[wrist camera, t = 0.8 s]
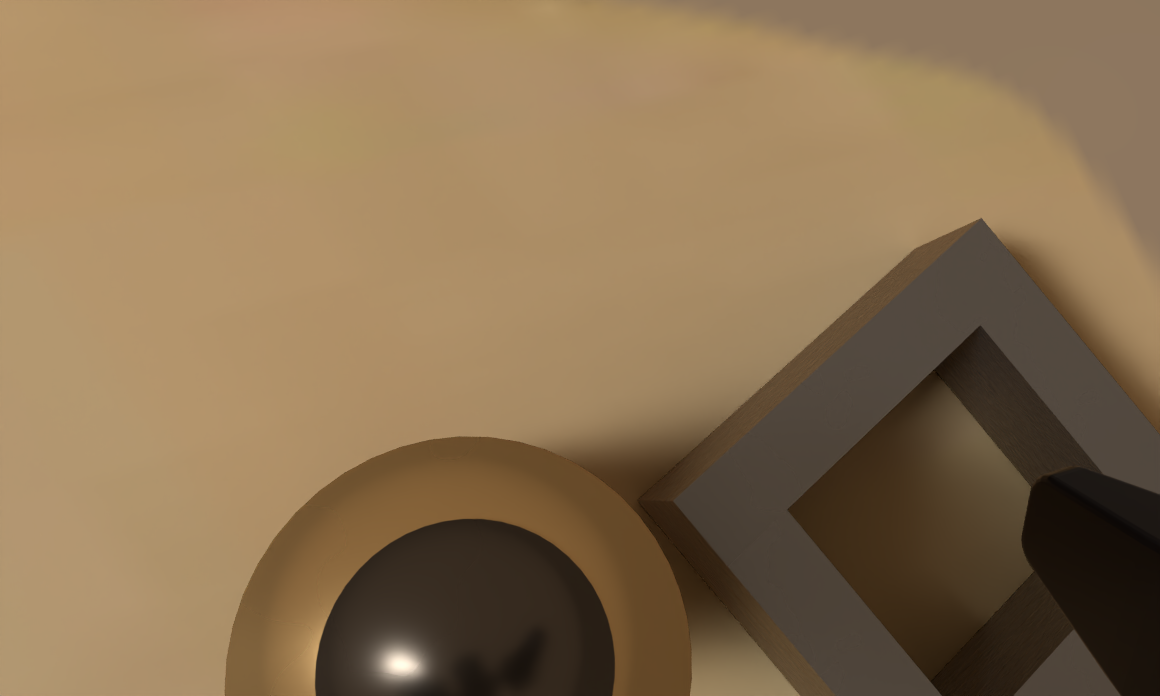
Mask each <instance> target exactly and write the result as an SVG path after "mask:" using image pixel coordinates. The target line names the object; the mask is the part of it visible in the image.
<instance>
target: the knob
mask: <svg viewBox="0 0 1160 696" xmlns="http://www.w3.org/2000/svg"><path fill="white" fill-rule="evenodd" d="M691 680H692V671H691V643H690V635H689V627H688V620H687V616H686V612H685V608H684V604H683V600H682V596H681V592H680V589H679V587H678V584H677V582H676V579H675V577H674V574H673V572H672V569H671V567H670V564H669V562H668V560H667V559H666V557H665V555H664V553H663V551H662V549H661V548H660V546H659V544H658V542H657V540H656V539H655V537H654V536H653V534H652V533H651V532H650V530H649V529H648V528H647V526H646V525H645V523H644V522H643V521H642V519H641V518H640V517H639V515H638V514H637V513H636V512H635V511H634V510H633V509H632V508H631V507H630V506H629V505H628V504H627V503H626V502H625V500H624V499H623V498H622V497H621V496H620V495H619V494H618V493H616V492H615V491H614V490H613V489H611V488H610V487H609V486H608V485H607V484H605V483H604V482H603V481H602V480H600V479H599V478H598V477H597V476H595V475H593V474H592V473H590V472H589V471H587V470H585V469H584V468H582V467H580V466H579V465H577V464H575V463H574V462H572V461H570V460H568V459H565V458H563V457H561V456H559V455H556V454H554V453H552V452H550V451H547V450H545V449H541V448H538V447H535V446H531V445H528V444H524V443H521V442H517V441H511V440H504V439H498V438H491V437H451V438H442V439H433V440H427V441H423V442H419V443H415V444H411V445H407V446H403V447H399V448H397V449H394V450H392V451H389V452H386V453H384V454H381V455H379V456H376V457H374V458H371V459H369V460H367V461H366V462H364V463H362V464H360V465H358V466H356V467H355V468H353V469H351V470H349V471H347V472H345V473H344V474H342V475H341V476H340V477H338V478H337V479H335V480H334V481H333V482H331V483H330V484H328V485H327V486H326V487H324V488H323V489H321V490H320V491H319V492H318V493H317V494H315V495H314V496H313V497H312V498H311V499H310V500H309V501H308V502H307V503H306V504H305V505H304V506H303V507H301V508H300V509H299V510H298V511H297V512H296V513H295V514H294V515H293V517H292V518H291V519H290V520H289V521H288V523H287V524H286V525H285V526H284V527H283V529H282V530H281V531H280V532H279V533H278V535H277V536H276V537H275V538H274V540H273V541H272V543H271V545H270V546H269V548H268V549H267V551H266V552H265V554H264V555H263V557H262V559H261V560H260V562H259V563H258V565H257V567H256V569H255V571H254V573H253V575H252V577H251V579H250V581H249V583H248V586H247V588H246V590H245V592H244V594H243V597H242V600H241V603H240V606H239V609H238V612H237V615H236V618H235V621H234V624H233V628H232V633H231V638H230V644H229V649H228V654H227V661H226V678H225V696H690V688H691Z"/></svg>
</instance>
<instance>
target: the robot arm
mask: <svg viewBox="0 0 1160 696" xmlns="http://www.w3.org/2000/svg"><path fill="white" fill-rule="evenodd" d="M1021 540H1022V548H1023V551H1024V554H1025V557H1026V559H1027V561H1028V563H1029V564H1030V566H1031V568H1032V569H1033V570H1034V572H1035V573H1036V575H1037V576H1038V578H1039V579H1040V581H1041V582H1042V584H1043V585H1044V586H1045V588H1046V589H1047V591H1048V592H1049V594H1050V595H1051V597H1052V598H1053V600H1054V601H1055V602H1056V604H1057V605H1058V607H1059V608H1060V610H1061V611H1062V613H1063V614H1064V616H1065V617H1066V618H1067V620H1068V621H1069V623H1070V624H1071V626H1072V627H1073V629H1074V630H1075V632H1076V633H1077V634H1078V636H1079V637H1080V639H1081V640H1082V642H1083V643H1084V645H1085V646H1086V648H1087V649H1088V650H1089V652H1090V653H1091V655H1092V656H1093V658H1094V659H1095V661H1096V662H1097V664H1098V665H1099V666H1100V668H1101V669H1102V671H1103V672H1104V674H1105V675H1106V676H1107V678H1108V679H1109V681H1110V682H1111V683H1112V685H1113V686H1114V687H1115V689H1116V690H1117V691H1118V693H1119V694H1120V696H1160V494H1158V493H1155V492H1153V491H1150V490H1147V489H1144V488H1141V487H1138V486H1136V485H1133V484H1130V483H1127V482H1124V481H1121V480H1119V479H1116V478H1113V477H1110V476H1107V475H1104V474H1102V473H1099V472H1096V471H1093V470H1090V469H1087V468H1084V467H1081V466H1068V467H1064V468H1061V469H1058V470H1055V471H1052V472H1049V473H1047V474H1044V475H1041V476H1039V477H1038V478H1037V479H1036V480H1035V481H1034V482H1033V484H1032V487H1031V491H1030V496H1029V501H1028V506H1027V511H1026V516H1025V521H1024V526H1023V532H1022V539H1021Z"/></svg>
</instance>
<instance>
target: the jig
mask: <svg viewBox="0 0 1160 696" xmlns="http://www.w3.org/2000/svg"><path fill="white" fill-rule="evenodd" d="M933 370H935V371H936V372H937V373H938V374H939V376H940V377H941V378H942V379H943V380H944V382H945V383H946V384H947V385H948V386H949V388H950V389H951V390H952V391H953V392H954V394H955V395H956V396H957V397H958V399H959V400H960V401H961V402H962V403H963V405H964V406H965V407H966V408H967V409H968V411H969V412H970V413H971V414H972V415H973V417H974V418H975V419H976V420H977V421H978V423H979V424H980V425H981V426H982V428H983V429H984V430H985V431H986V432H987V434H988V435H989V436H990V437H991V438H992V440H993V441H994V442H995V443H996V444H997V446H998V447H999V448H1000V449H1001V451H1002V452H1003V453H1004V454H1005V455H1006V457H1007V458H1008V459H1009V460H1010V461H1011V463H1012V464H1013V465H1014V466H1015V467H1016V469H1017V470H1018V471H1019V472H1020V473H1021V475H1022V476H1023V477H1024V478H1025V480H1026V481H1027V482H1028V483H1029V484H1030V486H1031V487H1032V484H1033V482H1034V481H1035V480H1036V479H1037V478H1038V477H1039V476H1041V475H1044V474H1047V473H1049V472H1052V471H1055V470H1058V469H1061V468H1064V467H1068V466H1081V467H1084V468H1087V469H1090V470H1093V471H1096V472H1099V473H1102V474H1104V475H1107V476H1110V477H1113V478H1116V479H1119V480H1121V481H1124V482H1127V483H1130V484H1133V485H1136V486H1138V487H1141V488H1144V489H1147V490H1150V491H1153V492H1155V493H1158V494H1160V434H1159V433H1158V432H1157V431H1156V429H1155V428H1154V427H1153V426H1152V425H1151V423H1150V422H1149V421H1148V420H1147V418H1146V417H1145V416H1144V415H1143V414H1142V412H1141V411H1140V410H1139V409H1138V408H1137V406H1136V405H1135V404H1134V403H1133V401H1132V400H1131V399H1130V398H1129V397H1128V395H1127V394H1126V393H1125V392H1124V391H1123V389H1122V388H1121V387H1120V386H1119V385H1118V383H1117V382H1116V381H1115V380H1114V378H1113V377H1112V376H1111V375H1110V374H1109V372H1108V371H1107V370H1106V369H1105V368H1104V366H1103V365H1102V364H1101V363H1100V361H1099V360H1098V359H1097V358H1096V357H1095V355H1094V354H1093V353H1092V352H1091V351H1090V349H1089V348H1088V347H1087V346H1086V344H1085V343H1084V342H1083V341H1082V340H1081V338H1080V337H1079V336H1078V335H1077V334H1076V332H1075V331H1074V330H1073V329H1072V327H1071V326H1070V325H1069V324H1068V323H1067V321H1066V320H1065V319H1064V318H1063V317H1062V315H1061V314H1060V313H1059V312H1058V310H1057V309H1056V308H1055V307H1054V306H1053V304H1052V303H1051V302H1050V301H1049V300H1048V298H1047V297H1046V296H1045V295H1044V293H1043V292H1042V291H1041V290H1040V289H1039V287H1038V286H1037V285H1036V284H1035V283H1034V281H1033V280H1032V279H1031V278H1030V276H1029V275H1028V274H1027V273H1026V272H1025V270H1024V269H1023V268H1022V267H1021V266H1020V264H1019V263H1018V262H1017V261H1016V259H1015V258H1014V257H1013V256H1012V255H1011V253H1010V252H1009V251H1008V250H1007V249H1006V247H1005V246H1004V245H1003V244H1002V242H1001V241H1000V240H999V239H998V238H997V236H996V235H995V234H994V233H993V232H992V230H991V229H990V228H989V227H988V225H987V224H986V223H985V222H984V221H983V219H982V218H981V219H979V220H976V221H974V222H972V223H970V224H968V225H966V226H963V227H961V228H959V229H957V230H955V231H952V232H950V233H948V234H946V235H944V236H942V237H939V238H937V239H935V240H933V241H931V242H929V243H926V244H924V245H922V246H920V247H918V248H916V249H914V250H913V251H912V252H911V253H910V254H909V255H908V256H907V257H906V258H904V259H903V260H902V261H901V262H900V263H899V264H898V265H897V266H896V267H895V268H893V269H892V270H891V271H890V272H889V273H888V274H887V275H886V276H885V277H883V278H882V279H881V280H880V281H879V282H878V283H877V284H876V285H875V286H874V287H872V288H871V289H870V290H869V291H868V292H867V293H866V294H865V295H864V296H863V297H861V298H860V299H859V300H858V301H857V302H856V303H855V304H854V305H853V306H851V307H850V308H849V309H848V310H847V311H846V312H845V313H844V314H843V315H842V316H840V317H839V318H838V319H837V320H836V321H835V322H834V323H833V324H832V325H830V326H829V327H828V328H827V329H826V330H825V331H824V332H823V333H822V334H821V335H819V336H818V337H817V338H816V339H815V340H814V341H813V342H812V343H811V344H810V345H808V346H807V347H806V348H805V349H804V350H803V351H802V352H801V353H800V354H798V355H797V356H796V357H795V358H794V359H793V360H792V361H791V362H790V363H789V364H787V365H786V366H785V367H784V368H783V369H782V370H781V371H780V372H779V373H777V374H776V375H775V376H774V377H773V378H772V379H771V380H770V381H769V382H768V383H766V384H765V385H764V386H763V387H762V388H761V389H760V390H759V391H758V392H757V393H755V394H754V395H753V396H752V397H751V398H750V399H749V400H748V401H747V402H745V403H744V404H743V405H742V406H741V407H740V408H739V409H738V410H737V411H736V412H734V413H733V414H732V415H731V416H730V417H729V418H728V419H727V420H726V421H725V422H723V423H722V424H721V425H720V426H719V427H718V428H717V429H716V430H715V431H713V432H712V433H711V434H710V435H709V436H708V437H707V438H706V439H705V440H704V441H702V442H701V443H700V444H699V445H698V446H697V447H696V448H695V449H694V450H692V451H691V452H690V453H689V454H688V455H687V456H686V457H685V458H684V459H683V460H681V461H680V462H679V463H678V464H677V465H676V466H675V467H674V468H673V469H672V470H670V471H669V472H668V473H667V474H666V475H665V476H664V477H663V478H662V479H660V480H659V481H658V482H657V483H656V484H655V485H654V486H653V487H652V488H651V489H649V490H648V491H647V492H646V493H645V494H644V495H643V496H642V497H641V498H639V499H638V500H637V501H638V502H639V503H640V504H641V505H642V507H643V508H644V509H645V510H646V511H647V513H648V514H649V515H650V516H651V517H652V519H653V520H654V521H655V522H656V523H657V524H658V526H659V527H660V528H661V529H662V530H663V532H664V533H665V534H666V535H667V536H668V538H669V539H670V540H671V541H672V542H673V544H674V545H675V546H676V547H677V548H678V550H679V551H680V552H681V553H682V554H683V556H684V557H685V558H686V559H687V560H688V562H689V563H690V564H691V565H692V566H693V568H694V569H695V570H696V571H697V572H698V574H699V575H700V576H701V577H702V578H703V580H704V581H705V582H706V583H707V584H708V586H709V587H710V588H711V589H712V590H713V592H714V593H715V594H716V595H717V596H718V597H719V599H720V600H721V601H722V602H723V603H724V605H725V606H726V607H727V608H728V609H729V611H730V612H731V613H732V614H733V615H734V617H735V618H736V619H737V620H738V621H739V623H740V624H741V625H742V626H743V627H744V629H745V630H746V631H747V632H748V633H749V635H750V636H751V637H752V638H753V639H754V641H755V642H756V643H757V644H758V645H759V647H760V648H761V649H762V650H763V651H764V653H765V654H766V655H767V656H768V657H769V659H770V660H771V661H772V662H773V663H774V665H775V666H776V667H777V668H778V669H779V671H780V672H781V673H782V674H783V675H784V676H785V678H786V679H787V680H788V681H789V682H790V684H791V685H792V686H793V687H794V688H795V690H796V691H797V692H798V693H799V694H800V696H1120V694H1119V693H1118V691H1117V690H1116V689H1115V687H1114V686H1113V685H1112V683H1111V682H1110V681H1109V679H1108V678H1107V676H1106V675H1105V674H1104V672H1103V671H1102V669H1101V668H1100V666H1099V665H1098V664H1097V662H1096V661H1095V659H1094V658H1093V656H1092V655H1091V653H1090V652H1089V650H1088V649H1087V648H1086V646H1085V645H1084V643H1083V642H1082V640H1081V639H1080V637H1079V636H1078V634H1077V633H1076V632H1075V630H1074V629H1073V627H1072V626H1071V624H1070V623H1069V621H1068V620H1067V618H1066V617H1065V616H1064V614H1063V613H1062V611H1061V610H1060V608H1059V607H1058V605H1057V604H1056V602H1055V601H1054V600H1053V598H1052V597H1051V595H1050V594H1049V592H1048V591H1047V589H1046V588H1045V586H1044V585H1043V584H1042V582H1041V581H1040V579H1039V578H1038V576H1037V575H1036V573H1035V572H1034V573H1033V574H1032V575H1031V576H1030V577H1029V578H1028V579H1027V580H1026V581H1025V582H1024V583H1023V584H1022V585H1021V586H1020V588H1019V589H1018V590H1017V591H1016V592H1015V593H1014V594H1013V595H1012V596H1011V597H1010V598H1009V599H1008V600H1007V601H1006V602H1005V604H1004V605H1003V606H1002V607H1001V608H1000V609H999V610H998V611H997V612H996V613H995V614H994V615H993V616H992V617H991V618H990V620H989V621H988V622H987V623H986V624H985V625H984V626H983V627H982V628H981V629H980V630H979V631H978V632H977V633H976V634H975V636H974V637H973V638H972V639H971V640H970V641H969V642H968V643H967V644H966V645H965V646H964V647H963V648H962V649H961V650H960V651H959V653H958V654H957V655H956V656H955V657H954V658H953V659H952V660H951V661H950V662H949V663H948V664H947V665H946V666H945V667H944V669H943V670H942V671H941V672H940V673H939V674H938V675H937V676H936V677H935V678H934V679H933V680H932V681H931V682H930V681H929V680H928V678H927V677H926V676H925V675H924V674H923V672H922V671H921V670H920V669H919V668H918V666H917V665H916V664H915V663H914V662H913V660H912V659H911V658H910V657H909V656H908V654H907V653H906V652H905V651H904V650H903V648H902V647H901V646H900V645H899V644H898V642H897V641H896V640H895V639H894V638H893V636H892V635H891V634H890V633H889V632H888V630H887V629H886V628H885V627H884V626H883V624H882V623H881V622H880V621H879V620H878V618H877V617H876V616H875V615H874V614H873V612H872V611H871V610H870V609H869V608H868V606H867V605H866V604H865V603H864V602H863V600H862V599H861V598H860V597H859V596H858V594H857V593H856V592H855V591H854V590H853V588H852V587H851V586H850V585H849V584H848V582H847V581H846V580H845V579H844V578H843V576H842V575H841V574H840V573H839V572H838V570H837V569H836V568H835V567H834V566H833V564H832V563H831V562H830V561H829V560H828V558H827V557H826V556H825V555H824V554H823V552H822V551H821V550H820V549H819V547H818V546H817V545H816V544H815V543H814V541H813V540H812V539H811V538H810V537H809V535H808V534H807V533H806V532H805V531H804V529H803V528H802V527H801V526H800V525H799V523H798V522H797V521H796V520H795V519H794V517H793V516H792V515H791V514H790V513H789V511H788V510H787V509H788V508H789V507H790V506H791V505H792V504H793V503H795V502H796V501H797V500H798V499H799V498H800V497H801V496H802V495H803V494H804V493H805V492H806V491H807V490H808V489H809V488H810V487H811V486H812V485H813V484H814V483H815V482H817V481H818V480H819V479H820V478H821V477H822V476H823V475H824V474H825V473H826V472H827V471H828V470H829V469H830V468H831V467H832V466H833V465H834V464H835V463H836V462H837V461H839V460H840V459H841V458H842V457H843V456H844V455H845V454H846V453H847V452H848V451H849V450H850V449H851V448H852V447H853V446H854V445H855V444H856V443H857V442H858V441H859V440H861V439H862V438H863V437H864V436H865V435H866V434H867V433H868V432H869V431H870V430H871V429H872V428H873V427H874V426H875V425H876V424H877V423H878V422H879V421H880V420H881V419H882V418H884V417H885V416H886V415H887V414H888V413H889V412H890V411H891V410H892V409H893V408H894V407H895V406H896V405H897V404H898V403H899V402H900V401H901V400H902V399H903V398H904V397H906V396H907V395H908V394H909V393H910V392H911V391H912V390H913V389H914V388H915V387H916V386H917V385H918V384H919V383H920V382H921V381H922V380H923V379H924V378H925V377H926V376H928V375H929V374H930V373H931V372H932V371H933Z"/></svg>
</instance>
